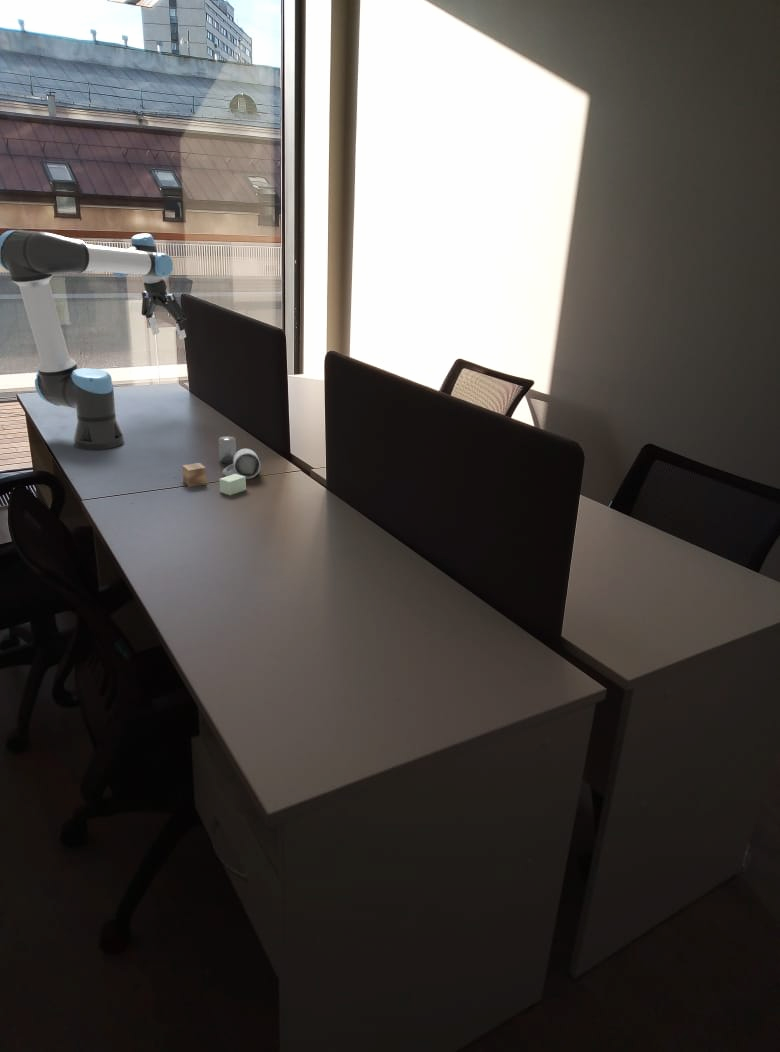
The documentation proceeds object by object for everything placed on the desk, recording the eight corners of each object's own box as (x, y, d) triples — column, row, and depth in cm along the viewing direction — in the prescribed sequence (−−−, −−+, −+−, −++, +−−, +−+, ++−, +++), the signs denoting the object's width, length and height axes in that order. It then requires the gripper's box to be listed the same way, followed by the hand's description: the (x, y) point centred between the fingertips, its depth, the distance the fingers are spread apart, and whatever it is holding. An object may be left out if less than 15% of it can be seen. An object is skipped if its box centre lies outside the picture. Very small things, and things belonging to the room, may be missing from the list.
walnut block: (189, 487, 215) (188, 470, 213) (183, 481, 219) (182, 465, 217) (206, 484, 217) (205, 467, 215) (200, 479, 221) (199, 462, 219)
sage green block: (229, 495, 210) (229, 482, 208) (220, 492, 212) (219, 478, 211) (246, 490, 214) (245, 476, 213) (236, 486, 217) (235, 473, 215)
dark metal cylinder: (223, 463, 234) (222, 441, 232) (217, 459, 238) (216, 437, 236) (238, 461, 237) (237, 439, 234) (232, 457, 241) (231, 435, 238)
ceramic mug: (258, 469, 231) (256, 444, 228) (261, 478, 224) (259, 452, 221) (222, 471, 228) (220, 447, 225) (224, 480, 221) (222, 455, 218)
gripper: (186, 279, 269) (201, 336, 282) (136, 272, 281) (152, 327, 293) (172, 286, 264) (187, 344, 277) (121, 280, 276) (138, 335, 288)
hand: (169, 335), depth 285 cm, fingers open, 13 cm apart
